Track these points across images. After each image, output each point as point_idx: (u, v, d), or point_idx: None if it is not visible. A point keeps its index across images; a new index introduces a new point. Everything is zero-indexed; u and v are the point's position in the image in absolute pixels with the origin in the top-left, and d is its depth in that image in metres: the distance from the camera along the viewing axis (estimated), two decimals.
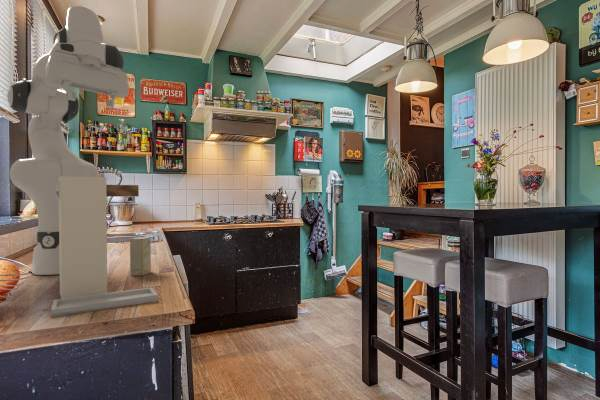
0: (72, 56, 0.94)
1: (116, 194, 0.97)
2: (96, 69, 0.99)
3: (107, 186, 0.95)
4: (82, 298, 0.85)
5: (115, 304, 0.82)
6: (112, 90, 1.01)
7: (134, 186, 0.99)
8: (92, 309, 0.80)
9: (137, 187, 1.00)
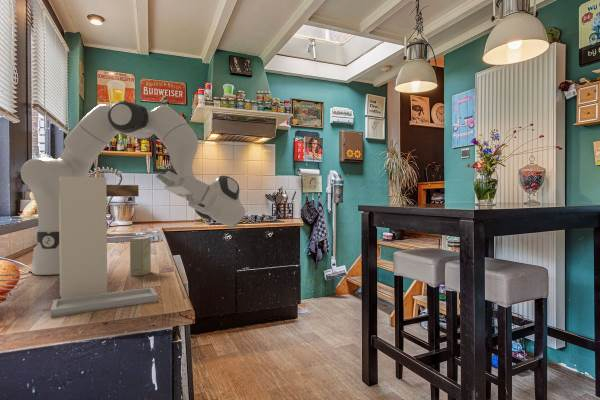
0: (194, 200, 1.07)
1: (116, 194, 0.97)
2: (186, 195, 1.11)
3: (107, 186, 0.95)
4: (82, 298, 0.85)
5: (115, 304, 0.82)
6: (168, 186, 1.12)
7: (134, 186, 0.99)
8: (92, 309, 0.80)
9: (137, 187, 1.00)
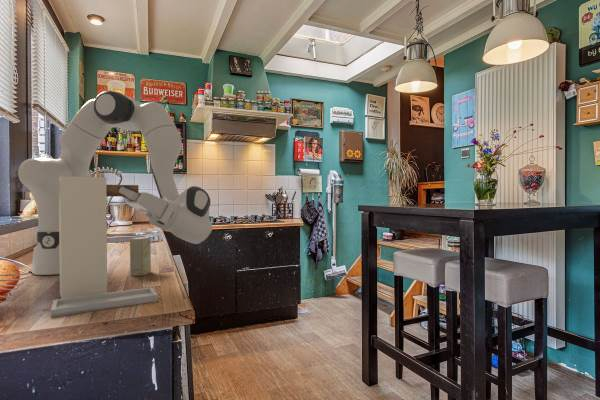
0: (153, 217, 1.00)
1: (116, 194, 0.97)
2: (146, 211, 1.04)
3: (107, 186, 0.95)
4: (82, 298, 0.85)
5: (115, 304, 0.82)
6: (127, 201, 1.05)
7: (134, 186, 0.99)
8: (92, 309, 0.80)
9: (137, 187, 1.00)
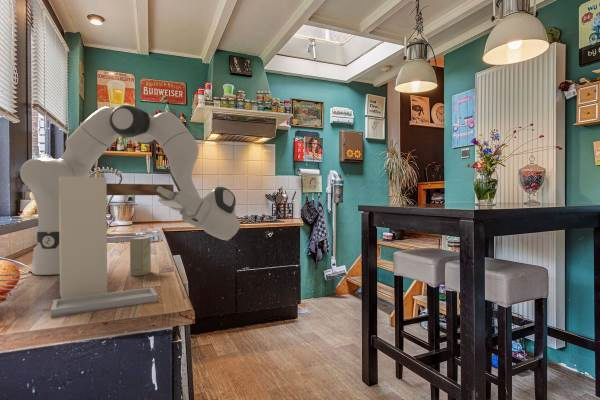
0: (188, 214, 1.05)
1: (153, 193, 1.03)
2: (180, 209, 1.10)
3: (145, 185, 1.01)
4: (82, 298, 0.85)
5: (115, 304, 0.82)
6: (161, 199, 1.10)
7: (169, 185, 1.05)
8: (92, 309, 0.80)
9: (172, 186, 1.06)
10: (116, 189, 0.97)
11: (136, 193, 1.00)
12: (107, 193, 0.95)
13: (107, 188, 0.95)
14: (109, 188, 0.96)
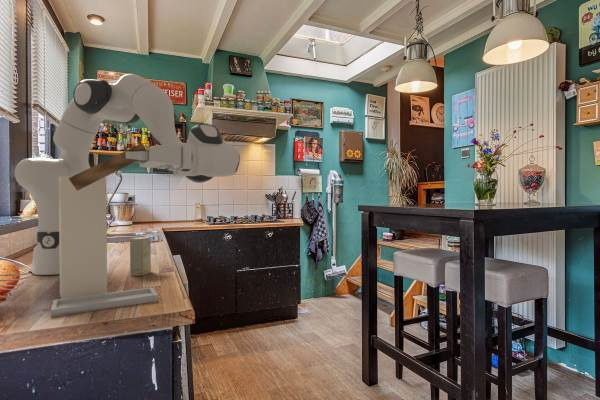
0: (175, 168, 0.89)
1: (126, 163, 0.86)
2: (165, 165, 0.93)
3: (113, 159, 0.84)
4: (82, 298, 0.85)
5: (115, 304, 0.82)
6: (141, 164, 0.94)
7: (139, 146, 0.87)
8: (92, 309, 0.80)
9: (142, 145, 0.87)
10: (83, 178, 0.81)
11: (108, 172, 0.83)
12: (77, 188, 0.80)
13: (73, 182, 0.80)
14: (75, 181, 0.80)
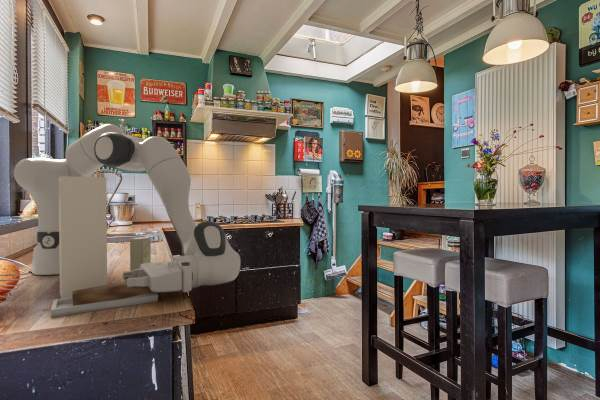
0: None
1: (132, 294, 0.86)
2: None
3: (122, 287, 0.85)
4: None
5: (115, 304, 0.82)
6: None
7: None
8: (92, 309, 0.80)
9: None
10: (85, 298, 0.81)
11: (111, 298, 0.84)
12: None
13: (74, 299, 0.80)
14: (76, 298, 0.80)
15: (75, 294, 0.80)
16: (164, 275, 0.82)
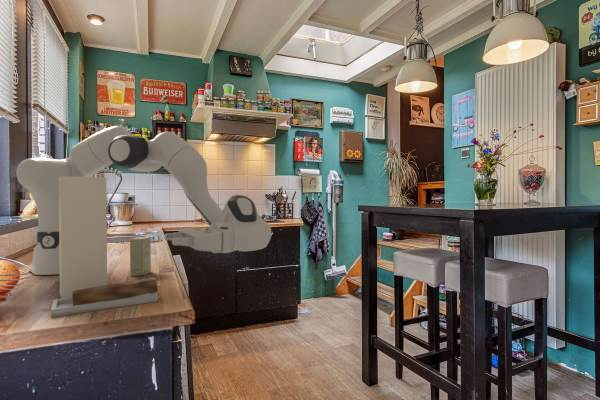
0: None
1: (132, 294, 0.86)
2: None
3: (122, 287, 0.85)
4: None
5: (115, 304, 0.82)
6: None
7: (152, 281, 0.89)
8: (92, 309, 0.80)
9: (155, 282, 0.89)
10: (85, 298, 0.81)
11: (111, 298, 0.84)
12: None
13: (74, 299, 0.80)
14: (76, 298, 0.80)
15: (75, 294, 0.80)
16: (207, 235, 0.89)
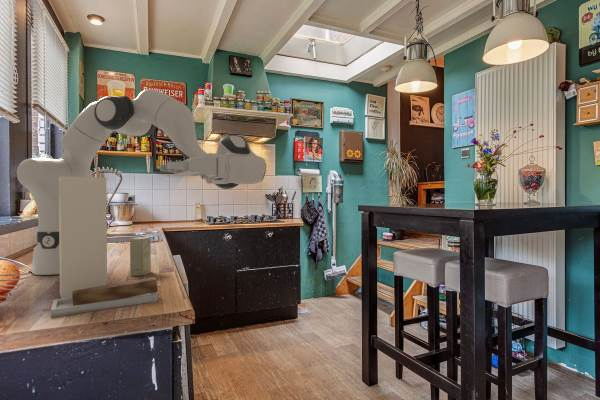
0: (210, 177, 0.96)
1: (132, 294, 0.86)
2: (199, 174, 1.01)
3: (122, 287, 0.85)
4: None
5: (115, 304, 0.82)
6: (177, 173, 1.01)
7: (152, 281, 0.89)
8: (92, 309, 0.80)
9: (155, 282, 0.89)
10: (85, 298, 0.81)
11: (111, 298, 0.84)
12: None
13: (74, 299, 0.80)
14: (76, 298, 0.80)
15: (75, 294, 0.80)
16: (202, 157, 0.90)
